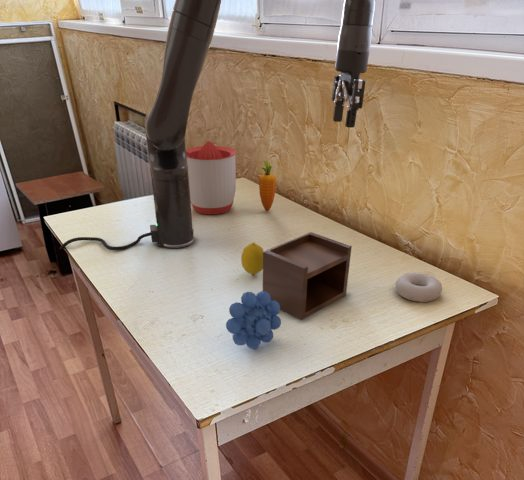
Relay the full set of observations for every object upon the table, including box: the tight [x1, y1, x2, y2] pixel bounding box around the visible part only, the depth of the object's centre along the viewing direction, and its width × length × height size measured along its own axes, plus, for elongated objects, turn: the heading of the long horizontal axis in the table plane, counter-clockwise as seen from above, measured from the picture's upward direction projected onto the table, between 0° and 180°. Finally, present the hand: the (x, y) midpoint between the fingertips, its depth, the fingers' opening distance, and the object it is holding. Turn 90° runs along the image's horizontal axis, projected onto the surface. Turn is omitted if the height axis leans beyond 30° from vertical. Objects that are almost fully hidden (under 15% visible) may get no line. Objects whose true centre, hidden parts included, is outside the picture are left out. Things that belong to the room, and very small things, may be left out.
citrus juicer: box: [186, 140, 237, 215], centre depth 148 cm, size 16×17×20 cm
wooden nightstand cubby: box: [262, 231, 352, 321], centre depth 104 cm, size 15×11×12 cm
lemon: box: [240, 242, 264, 276], centre depth 115 cm, size 6×6×8 cm
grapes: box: [225, 290, 282, 350], centre depth 88 cm, size 12×7×12 cm, turn 125°
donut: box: [394, 272, 443, 303], centre depth 109 cm, size 10×4×10 cm
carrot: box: [258, 159, 277, 213], centre depth 148 cm, size 5×5×15 cm
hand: (343, 124), depth 124 cm, fingers open, 8 cm apart
